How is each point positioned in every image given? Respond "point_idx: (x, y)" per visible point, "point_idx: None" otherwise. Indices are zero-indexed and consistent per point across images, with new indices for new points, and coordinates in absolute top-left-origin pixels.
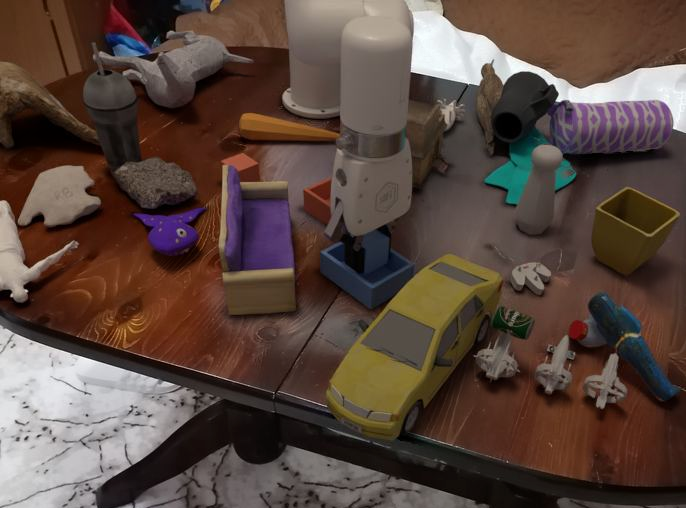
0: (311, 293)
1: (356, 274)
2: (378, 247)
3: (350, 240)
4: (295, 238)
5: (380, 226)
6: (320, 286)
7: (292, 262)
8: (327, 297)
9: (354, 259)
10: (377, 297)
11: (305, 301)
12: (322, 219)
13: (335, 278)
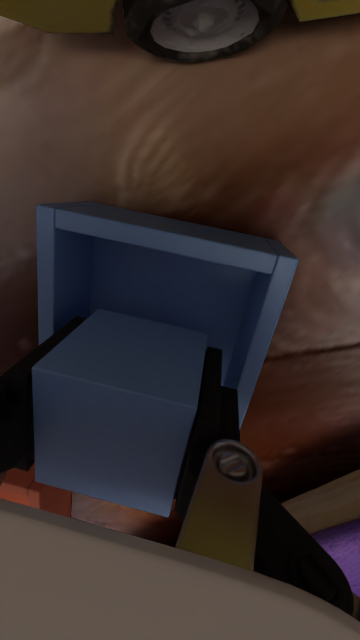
0: (307, 412)
1: (250, 358)
2: (118, 373)
3: (275, 541)
4: (153, 517)
5: (68, 530)
6: (267, 408)
7: (354, 546)
8: (299, 373)
9: (230, 410)
10: (256, 241)
11: (347, 408)
12: (67, 508)
13: None
